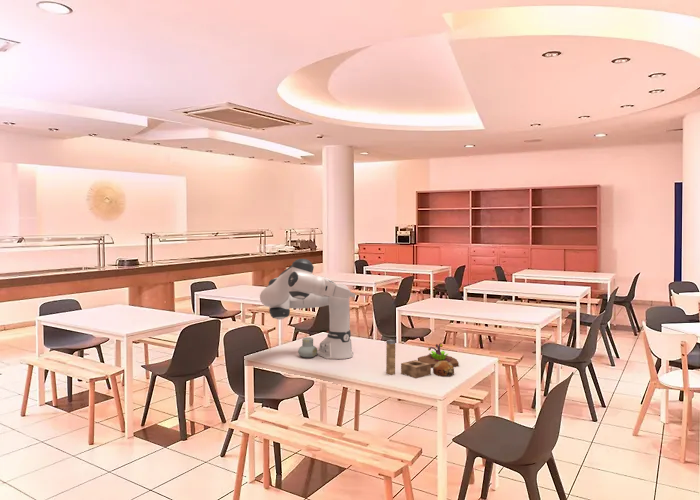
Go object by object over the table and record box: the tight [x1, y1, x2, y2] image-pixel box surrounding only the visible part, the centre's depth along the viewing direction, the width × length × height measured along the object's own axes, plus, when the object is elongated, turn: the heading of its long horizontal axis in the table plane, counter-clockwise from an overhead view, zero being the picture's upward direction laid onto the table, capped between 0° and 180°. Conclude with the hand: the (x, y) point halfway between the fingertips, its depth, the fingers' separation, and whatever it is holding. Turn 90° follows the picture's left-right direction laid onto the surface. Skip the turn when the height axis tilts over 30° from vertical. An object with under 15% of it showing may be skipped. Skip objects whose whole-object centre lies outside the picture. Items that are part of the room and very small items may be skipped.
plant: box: [417, 342, 460, 369], centre depth 268 cm, size 20×20×11 cm
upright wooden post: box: [385, 339, 396, 376], centre depth 248 cm, size 3×3×16 cm
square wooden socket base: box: [400, 359, 432, 379], centre depth 248 cm, size 10×10×5 cm
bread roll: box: [432, 361, 455, 377], centre depth 249 cm, size 10×10×8 cm
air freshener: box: [297, 337, 318, 359], centre depth 280 cm, size 11×8×10 cm
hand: (350, 293), depth 240 cm, fingers open, 8 cm apart
